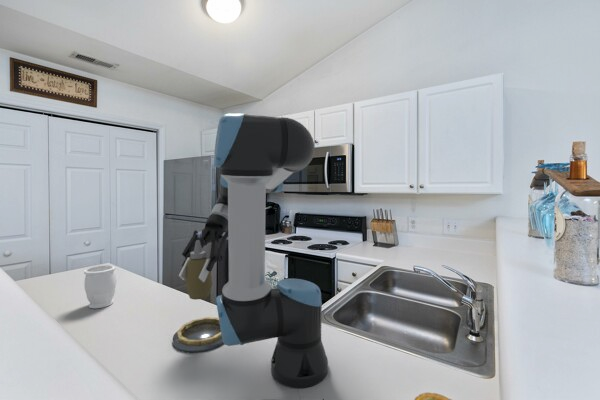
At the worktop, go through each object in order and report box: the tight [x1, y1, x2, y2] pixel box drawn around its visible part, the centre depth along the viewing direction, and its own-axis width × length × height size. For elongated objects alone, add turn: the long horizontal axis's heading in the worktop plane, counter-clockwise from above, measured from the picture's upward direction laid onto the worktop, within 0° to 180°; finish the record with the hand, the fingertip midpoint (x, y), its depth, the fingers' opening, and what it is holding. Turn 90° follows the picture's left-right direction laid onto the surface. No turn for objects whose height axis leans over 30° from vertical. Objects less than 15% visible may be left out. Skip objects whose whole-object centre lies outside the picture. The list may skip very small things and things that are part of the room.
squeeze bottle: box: [185, 240, 213, 300], centre depth 90 cm, size 8×8×18 cm
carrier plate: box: [172, 317, 225, 354], centre depth 91 cm, size 18×18×2 cm
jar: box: [83, 264, 117, 310], centre depth 115 cm, size 11×10×15 cm
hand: (191, 278), depth 87 cm, fingers closed on squeeze bottle, 6 cm apart
